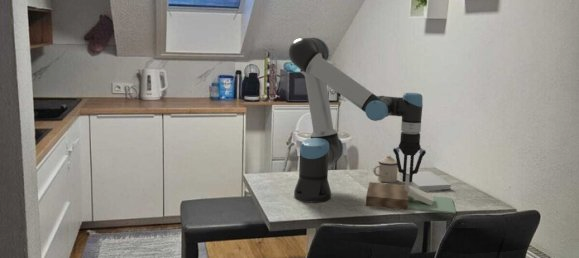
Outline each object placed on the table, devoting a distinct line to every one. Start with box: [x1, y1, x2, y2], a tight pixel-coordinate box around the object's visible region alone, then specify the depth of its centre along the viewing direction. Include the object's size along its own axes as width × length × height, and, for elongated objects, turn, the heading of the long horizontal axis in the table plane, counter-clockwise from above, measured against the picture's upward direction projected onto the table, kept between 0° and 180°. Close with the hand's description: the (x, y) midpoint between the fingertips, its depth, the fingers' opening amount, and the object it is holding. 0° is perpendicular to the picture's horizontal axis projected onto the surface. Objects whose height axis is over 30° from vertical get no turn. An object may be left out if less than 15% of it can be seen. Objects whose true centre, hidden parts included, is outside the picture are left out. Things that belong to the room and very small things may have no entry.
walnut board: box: [365, 181, 408, 211], centre depth 214 cm, size 16×20×4 cm
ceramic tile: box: [408, 185, 434, 206], centre depth 211 cm, size 10×8×2 cm
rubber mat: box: [407, 195, 457, 215], centre depth 211 cm, size 18×18×1 cm
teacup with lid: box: [373, 155, 399, 184], centre depth 242 cm, size 12×9×12 cm
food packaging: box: [399, 170, 452, 192], centre depth 239 cm, size 15×3×20 cm
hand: (406, 189), depth 212 cm, fingers closed
